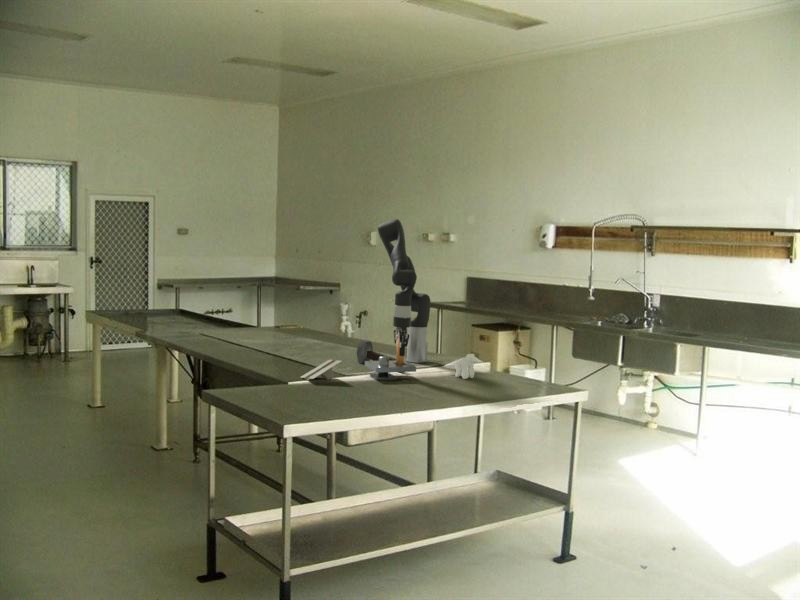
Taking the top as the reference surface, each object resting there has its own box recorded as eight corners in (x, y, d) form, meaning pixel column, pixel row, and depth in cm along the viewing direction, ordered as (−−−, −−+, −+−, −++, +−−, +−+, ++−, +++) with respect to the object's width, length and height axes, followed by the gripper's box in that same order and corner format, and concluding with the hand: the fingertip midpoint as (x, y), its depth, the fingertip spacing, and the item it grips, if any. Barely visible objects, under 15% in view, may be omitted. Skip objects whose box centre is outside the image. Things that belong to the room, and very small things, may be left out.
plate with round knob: (375, 381, 354) (376, 360, 353) (364, 374, 369) (365, 354, 368) (415, 380, 361) (416, 360, 360) (402, 373, 376) (403, 353, 375)
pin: (393, 365, 367) (395, 334, 366) (402, 365, 369) (404, 334, 367) (396, 367, 363) (398, 335, 362) (405, 367, 365) (407, 335, 364)
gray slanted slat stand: (326, 394, 344) (351, 368, 349) (312, 378, 342) (337, 353, 347) (312, 392, 359) (336, 368, 364) (299, 377, 356) (323, 353, 362)
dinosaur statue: (477, 380, 363) (477, 355, 363) (437, 377, 380) (436, 352, 380) (487, 379, 368) (487, 354, 368) (447, 375, 385) (446, 351, 385)
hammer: (405, 380, 380) (363, 361, 402) (408, 356, 378) (366, 338, 400) (397, 381, 377) (355, 361, 398) (400, 357, 375) (358, 339, 396)
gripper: (388, 313, 369) (386, 352, 371) (399, 317, 356) (397, 358, 358) (404, 313, 372) (402, 352, 373) (416, 317, 359) (414, 357, 360)
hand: (400, 354), depth 366 cm, fingers closed on pin, 3 cm apart
